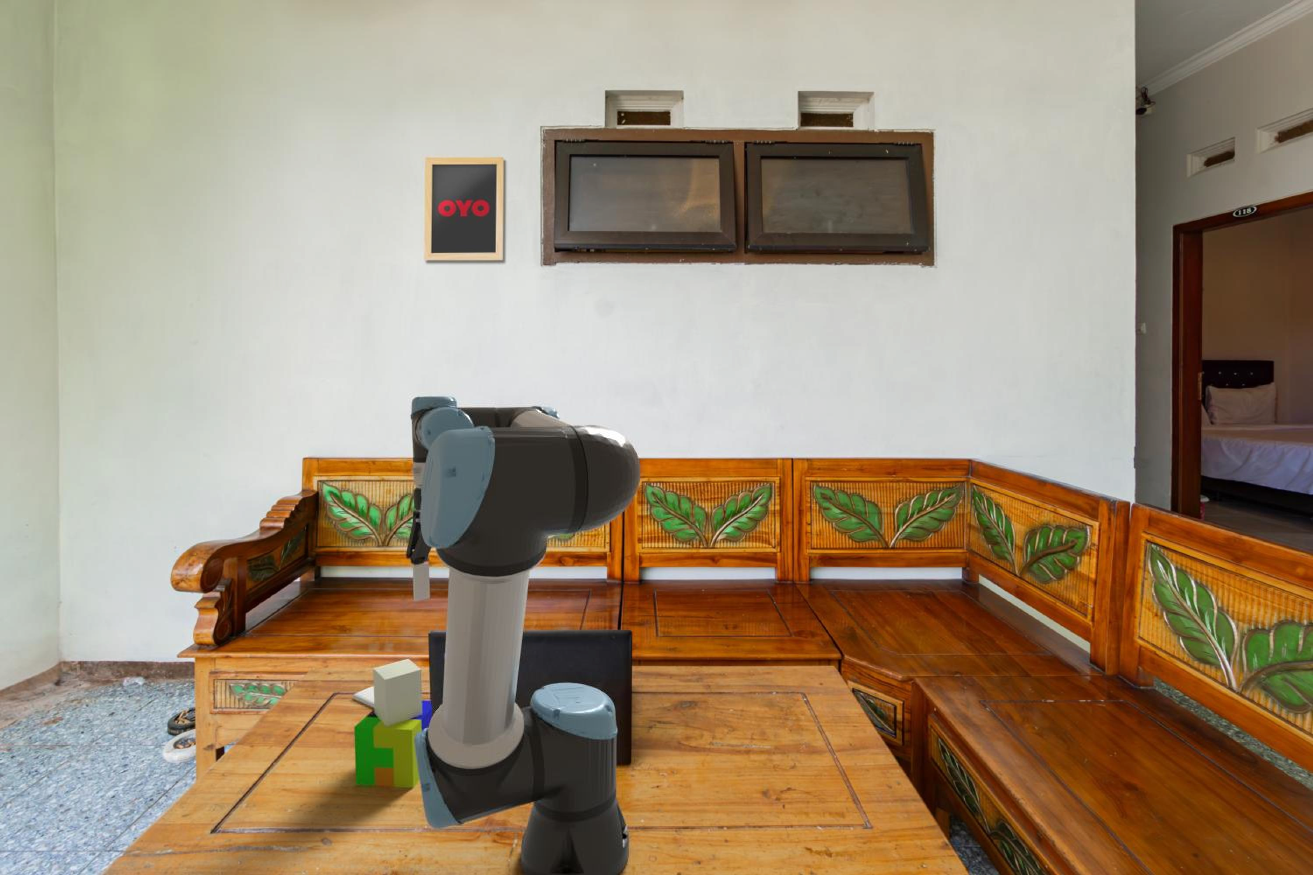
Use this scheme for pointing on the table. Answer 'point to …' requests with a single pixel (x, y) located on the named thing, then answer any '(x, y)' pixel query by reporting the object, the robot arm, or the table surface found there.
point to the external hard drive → (366, 696)
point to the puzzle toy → (388, 750)
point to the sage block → (397, 692)
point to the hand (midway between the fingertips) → (439, 607)
